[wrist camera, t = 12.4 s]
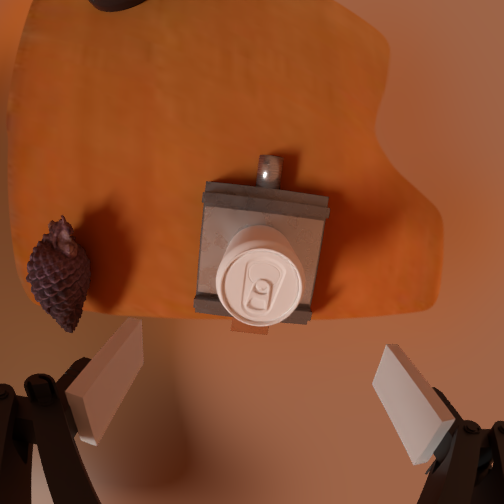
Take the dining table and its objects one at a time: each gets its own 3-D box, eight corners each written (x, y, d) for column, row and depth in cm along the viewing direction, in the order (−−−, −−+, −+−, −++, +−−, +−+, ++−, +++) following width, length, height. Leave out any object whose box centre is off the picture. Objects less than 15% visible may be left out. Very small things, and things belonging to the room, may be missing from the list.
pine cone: (107, 323, 43) (77, 353, 33) (60, 314, 43) (27, 339, 33) (99, 211, 39) (60, 219, 30) (50, 211, 39) (9, 219, 30)
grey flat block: (213, 151, 38) (208, 147, 33) (327, 166, 38) (335, 164, 33) (198, 318, 43) (192, 332, 38) (300, 330, 43) (304, 345, 38)
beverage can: (299, 232, 37) (319, 254, 25) (282, 293, 38) (293, 338, 27) (234, 217, 36) (224, 232, 25) (220, 279, 38) (206, 320, 26)
